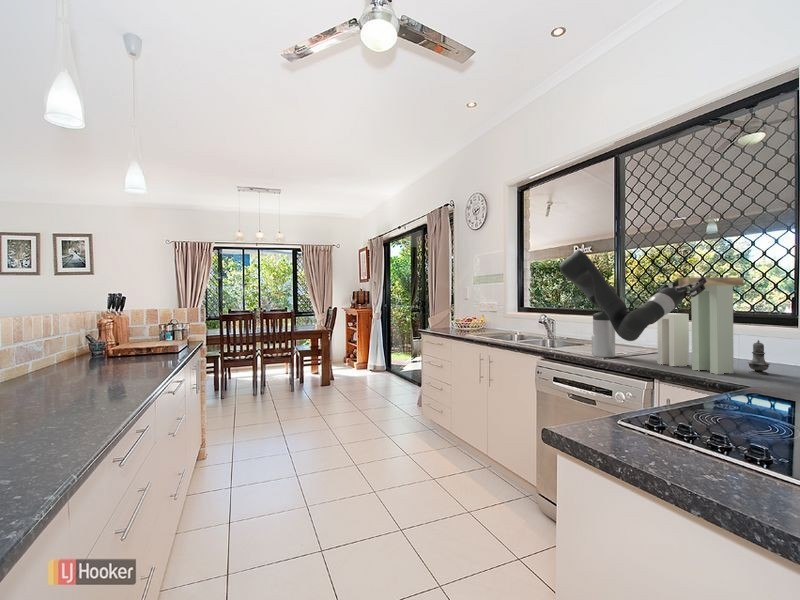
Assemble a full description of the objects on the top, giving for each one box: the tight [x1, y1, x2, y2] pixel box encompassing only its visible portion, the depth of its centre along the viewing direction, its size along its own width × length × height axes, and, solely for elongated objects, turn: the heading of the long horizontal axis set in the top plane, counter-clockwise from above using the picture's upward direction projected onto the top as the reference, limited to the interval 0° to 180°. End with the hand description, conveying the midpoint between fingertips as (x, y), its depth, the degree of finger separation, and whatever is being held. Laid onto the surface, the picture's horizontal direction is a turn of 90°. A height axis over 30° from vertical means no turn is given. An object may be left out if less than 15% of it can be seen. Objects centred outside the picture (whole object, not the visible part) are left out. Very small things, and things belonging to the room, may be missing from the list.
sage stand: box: [690, 285, 735, 375], centre depth 141 cm, size 9×8×32 cm
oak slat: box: [678, 276, 745, 287], centre depth 141 cm, size 4×28×3 cm, turn 106°
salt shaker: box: [747, 339, 771, 376], centre depth 137 cm, size 6×6×12 cm
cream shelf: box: [656, 312, 690, 367], centre depth 155 cm, size 7×8×21 cm
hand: (692, 279), depth 138 cm, fingers open, 8 cm apart
